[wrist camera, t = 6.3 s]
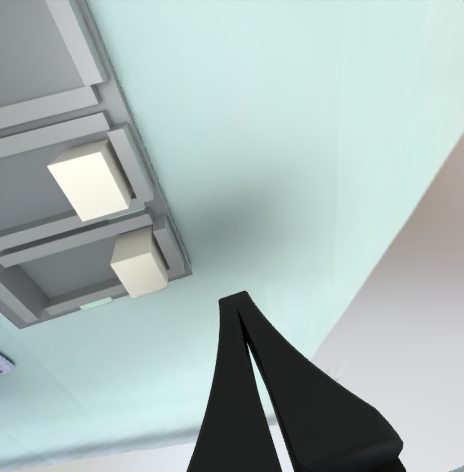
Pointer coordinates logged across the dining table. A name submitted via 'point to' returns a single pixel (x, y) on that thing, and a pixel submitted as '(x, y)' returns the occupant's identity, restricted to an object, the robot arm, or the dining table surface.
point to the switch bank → (53, 145)
